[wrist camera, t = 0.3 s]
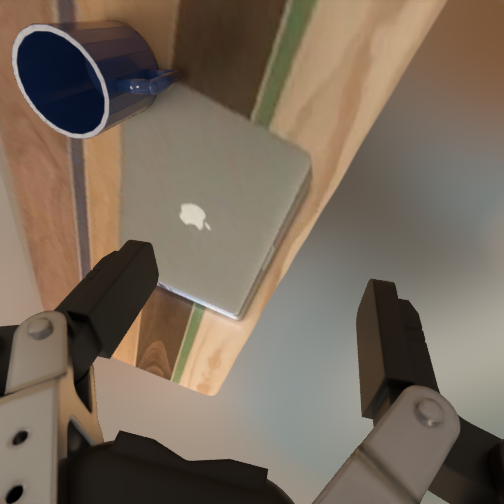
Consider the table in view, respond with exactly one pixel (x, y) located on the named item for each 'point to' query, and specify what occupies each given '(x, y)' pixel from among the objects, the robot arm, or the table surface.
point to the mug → (87, 74)
